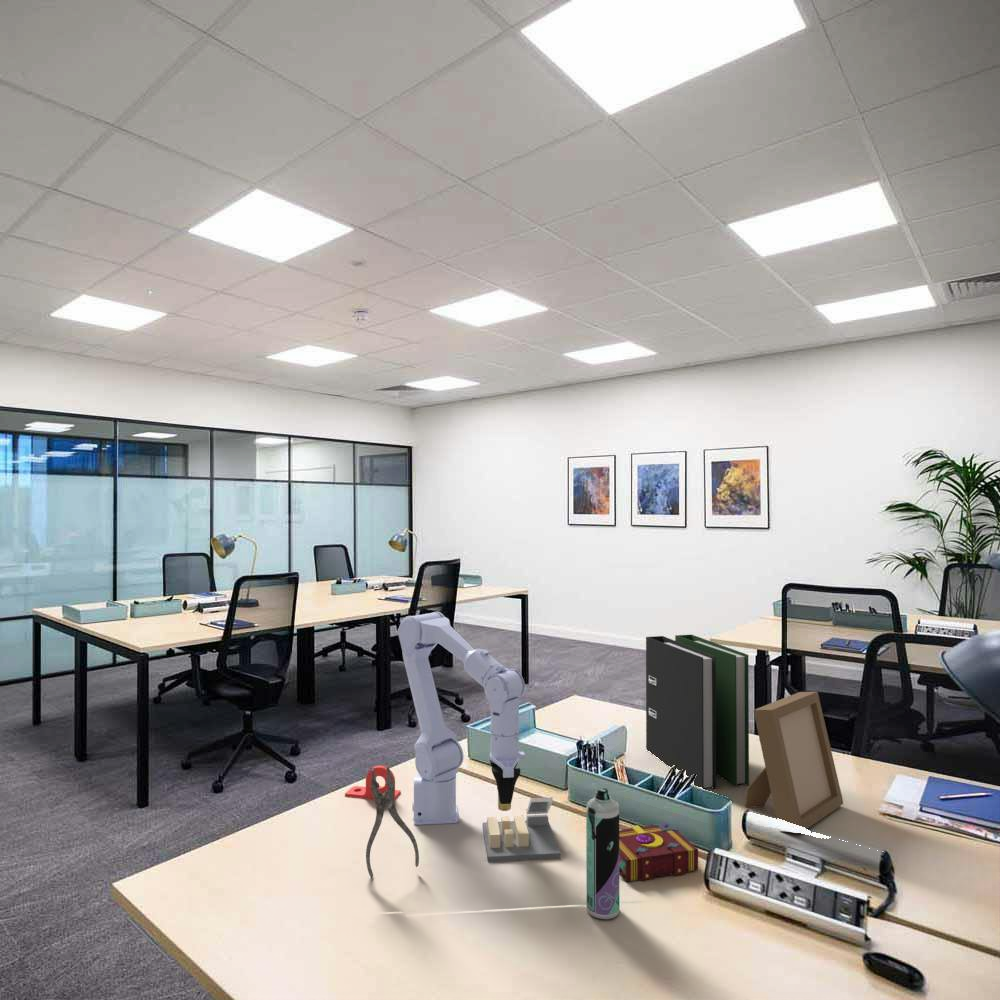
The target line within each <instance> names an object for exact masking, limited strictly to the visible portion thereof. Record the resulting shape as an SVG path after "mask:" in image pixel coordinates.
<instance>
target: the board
mask: <svg viewBox="0 0 1000 1000" xmlns="http://www.w3.org/2000/svg"><path fill="white" fill-rule="evenodd" d="M481 825H482V833H483V838H484V839H483V840H484V844H485V845H484V847H485V853H486V859H487V862H488V863H490V862H491V863H492V862H493V863H494V862H495V863H496V862H511V861H534V860H535V861H536V860H551V859H561V850H560V849H559V846H558V843H557V840H556V838H555V835H554V832H553V830H552V827H551V824H550V821H549V816H548V814H526V820H525V816H524V815H513V820H511V818H510V816H501V821H498V818H497V816H493V817H491V816H488V817H486V822H485V821H483V822H482V824H481Z"/></svg>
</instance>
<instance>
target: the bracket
mask: <svg viewBox="0 0 1000 1000" xmlns="http://www.w3.org/2000/svg"><path fill="white" fill-rule="evenodd" d="M372 769H374V772H375V775H376V778H377V777H381V778H383V779H384V782H385V784H384V785H383V786H382V785H381V786H380V785H379V788H378V789H377V790H378V791H379V792H382V793H385V791H386V790H388V788H389V787H388V786H386V781H387V779H388V778H387V766H386V765H376V766H373V767H372V768H371V769H369V771H368V772H367V775H366V777H365V786H359V785H355V786H352V787H350V788H349V789H348V790H347V791H346V792H345V793H344V797H349V798H350V797H351V798H359V799H368V800H374V798H373V794H372V791H371V778H372ZM390 772H391V774H392V777H393V780H394V782H395V783H396V777H395V774H394V773H393V771H392V770H391V769H390ZM400 794H401V790H399V789H396V788H395V789H394V801H395V800H396V799H397V798H398V797H399V795H400Z"/></svg>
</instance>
